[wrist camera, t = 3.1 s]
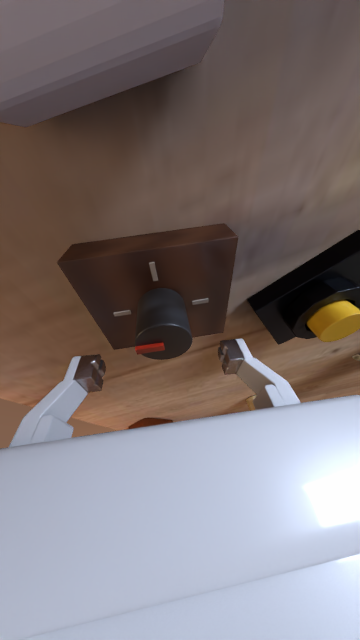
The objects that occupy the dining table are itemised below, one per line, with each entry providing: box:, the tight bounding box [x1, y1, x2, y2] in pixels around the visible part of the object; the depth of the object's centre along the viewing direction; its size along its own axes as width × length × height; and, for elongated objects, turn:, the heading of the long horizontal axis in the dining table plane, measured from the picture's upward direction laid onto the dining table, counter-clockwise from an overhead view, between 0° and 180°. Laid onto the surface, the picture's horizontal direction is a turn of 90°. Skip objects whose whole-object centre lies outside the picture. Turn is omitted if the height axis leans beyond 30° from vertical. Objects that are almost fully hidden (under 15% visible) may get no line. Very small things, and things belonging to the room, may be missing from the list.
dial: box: [135, 288, 192, 360], centre depth 13 cm, size 4×4×4 cm
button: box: [306, 300, 360, 342], centre depth 16 cm, size 4×4×2 cm
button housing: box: [247, 230, 360, 345], centre depth 18 cm, size 11×9×4 cm
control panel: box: [57, 224, 238, 350], centre depth 15 cm, size 12×10×3 cm
